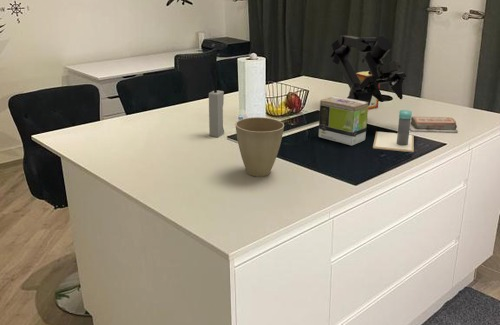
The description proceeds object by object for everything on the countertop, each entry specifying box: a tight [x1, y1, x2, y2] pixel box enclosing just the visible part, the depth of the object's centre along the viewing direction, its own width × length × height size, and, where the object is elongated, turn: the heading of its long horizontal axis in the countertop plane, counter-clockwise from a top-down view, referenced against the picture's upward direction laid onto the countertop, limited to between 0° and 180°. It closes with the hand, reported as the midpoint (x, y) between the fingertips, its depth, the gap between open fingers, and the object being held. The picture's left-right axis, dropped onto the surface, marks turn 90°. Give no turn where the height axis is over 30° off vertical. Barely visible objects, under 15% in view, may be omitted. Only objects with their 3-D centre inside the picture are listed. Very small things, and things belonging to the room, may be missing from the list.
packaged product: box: [409, 115, 459, 134], centre depth 210 cm, size 18×5×10 cm
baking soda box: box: [356, 70, 381, 111], centre depth 236 cm, size 10×6×16 cm
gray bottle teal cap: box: [397, 109, 413, 146], centre depth 189 cm, size 4×4×12 cm
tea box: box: [318, 95, 369, 146], centre depth 196 cm, size 15×10×15 cm, turn 47°
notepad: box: [372, 130, 415, 153], centre depth 195 cm, size 14×19×1 cm
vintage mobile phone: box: [208, 69, 225, 138], centre depth 196 cm, size 4×5×25 cm
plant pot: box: [234, 116, 285, 177], centre depth 164 cm, size 15×15×16 cm
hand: (392, 100), depth 199 cm, fingers open, 9 cm apart
